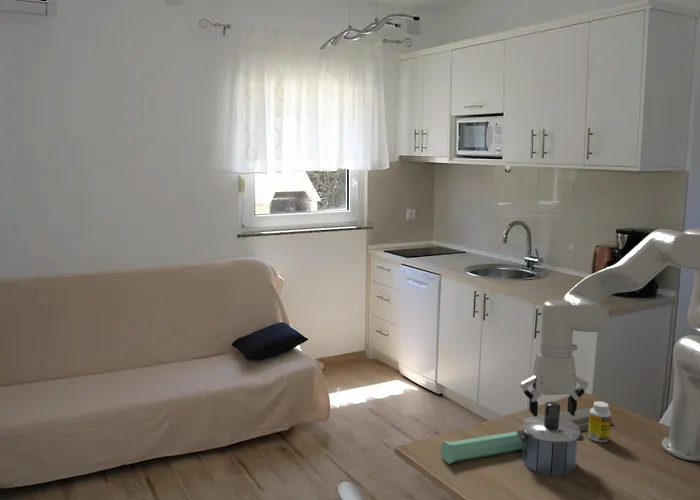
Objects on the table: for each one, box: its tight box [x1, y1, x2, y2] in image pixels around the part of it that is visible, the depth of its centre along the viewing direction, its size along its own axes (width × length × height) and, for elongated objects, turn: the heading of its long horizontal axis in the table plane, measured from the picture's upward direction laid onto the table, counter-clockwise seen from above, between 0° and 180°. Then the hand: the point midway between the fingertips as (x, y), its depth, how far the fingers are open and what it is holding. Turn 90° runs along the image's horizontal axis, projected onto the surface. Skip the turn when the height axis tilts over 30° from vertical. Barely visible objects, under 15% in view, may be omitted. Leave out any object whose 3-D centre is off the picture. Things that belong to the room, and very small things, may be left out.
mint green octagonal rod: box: [440, 430, 523, 465], centre depth 172 cm, size 6×6×25 cm
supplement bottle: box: [587, 401, 612, 443], centre depth 181 cm, size 6×6×10 cm
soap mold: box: [559, 407, 613, 432], centre depth 191 cm, size 10×20×4 cm, turn 113°
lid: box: [522, 401, 581, 443], centre depth 165 cm, size 14×14×7 cm
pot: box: [517, 429, 585, 477], centre depth 167 cm, size 16×13×9 cm
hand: (552, 414), depth 165 cm, fingers open, 9 cm apart
